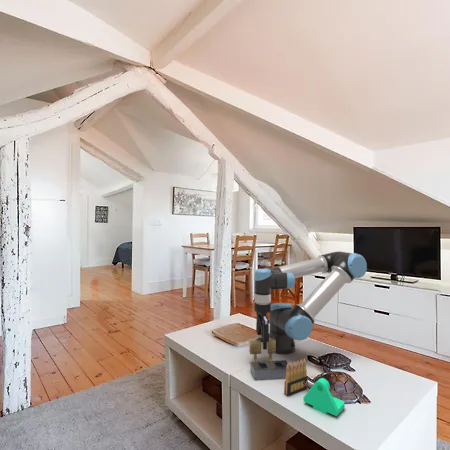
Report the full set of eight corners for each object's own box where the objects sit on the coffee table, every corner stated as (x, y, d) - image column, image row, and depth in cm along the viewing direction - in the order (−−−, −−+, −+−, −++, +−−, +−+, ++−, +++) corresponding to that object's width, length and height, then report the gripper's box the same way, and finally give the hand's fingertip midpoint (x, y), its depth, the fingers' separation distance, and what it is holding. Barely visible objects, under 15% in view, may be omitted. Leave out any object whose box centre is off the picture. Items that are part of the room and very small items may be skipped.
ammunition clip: (287, 397, 114) (287, 364, 114) (284, 394, 115) (284, 362, 115) (307, 389, 119) (308, 358, 119) (304, 386, 121) (304, 356, 121)
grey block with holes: (285, 369, 135) (285, 360, 135) (292, 378, 127) (292, 368, 127) (250, 371, 133) (250, 361, 133) (254, 380, 125) (254, 370, 125)
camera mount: (345, 409, 107) (345, 380, 107) (336, 419, 101) (336, 388, 101) (313, 395, 115) (313, 368, 115) (303, 404, 109) (303, 375, 109)
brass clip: (273, 361, 143) (273, 337, 143) (275, 363, 140) (275, 340, 140) (248, 362, 142) (248, 338, 142) (250, 365, 139) (250, 341, 139)
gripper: (250, 297, 150) (249, 344, 150) (259, 308, 131) (259, 362, 131) (264, 297, 151) (264, 343, 151) (276, 308, 132) (276, 361, 132)
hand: (262, 352), depth 141 cm, fingers open, 7 cm apart
